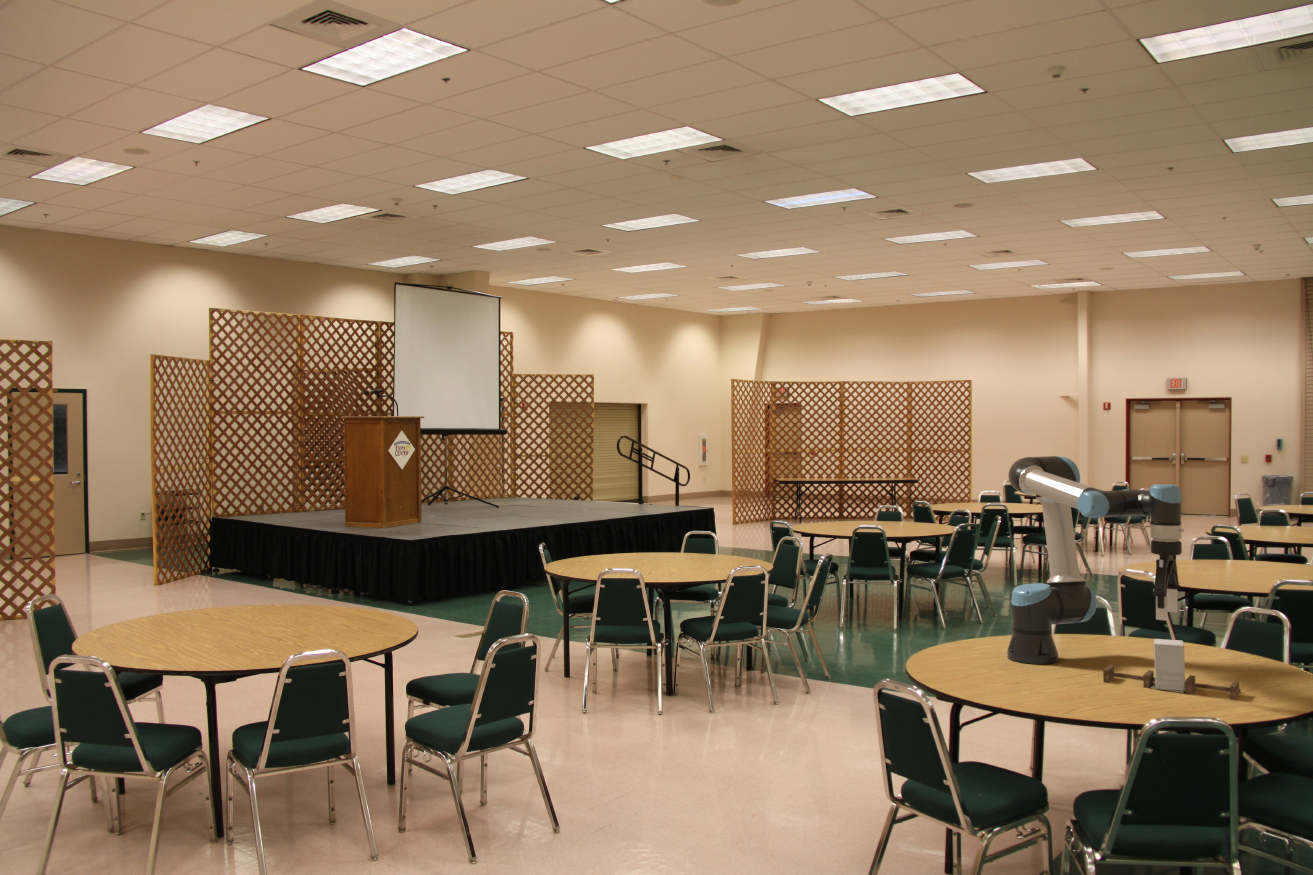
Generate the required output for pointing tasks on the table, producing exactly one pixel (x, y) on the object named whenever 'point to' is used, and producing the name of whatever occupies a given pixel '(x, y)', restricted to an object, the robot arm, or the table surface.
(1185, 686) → the pad
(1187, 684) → the notch rail
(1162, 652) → the supplement box
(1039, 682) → the table surface
